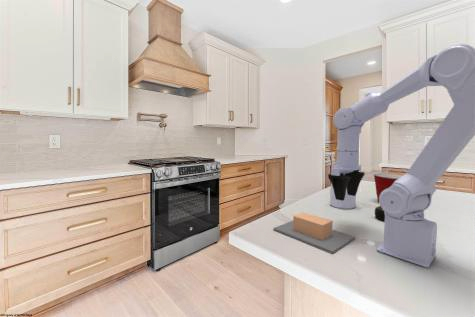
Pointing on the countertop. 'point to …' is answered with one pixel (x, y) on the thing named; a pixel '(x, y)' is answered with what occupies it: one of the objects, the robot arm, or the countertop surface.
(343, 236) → the mat
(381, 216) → the tape measure
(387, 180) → the plastic cup
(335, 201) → the soap bottle
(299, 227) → the card case
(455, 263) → the countertop surface
